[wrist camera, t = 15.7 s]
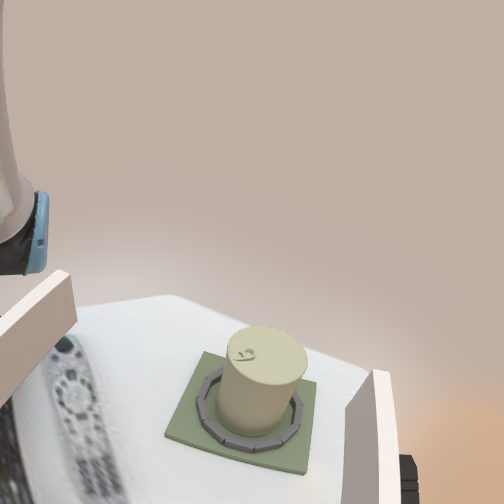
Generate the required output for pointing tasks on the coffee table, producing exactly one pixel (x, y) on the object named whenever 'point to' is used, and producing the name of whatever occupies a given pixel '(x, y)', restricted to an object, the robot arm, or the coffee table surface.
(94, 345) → the coffee table surface
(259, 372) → the can
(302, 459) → the deck mount
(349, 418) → the robot arm
